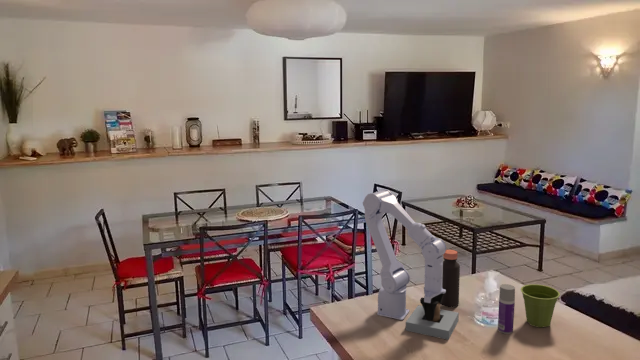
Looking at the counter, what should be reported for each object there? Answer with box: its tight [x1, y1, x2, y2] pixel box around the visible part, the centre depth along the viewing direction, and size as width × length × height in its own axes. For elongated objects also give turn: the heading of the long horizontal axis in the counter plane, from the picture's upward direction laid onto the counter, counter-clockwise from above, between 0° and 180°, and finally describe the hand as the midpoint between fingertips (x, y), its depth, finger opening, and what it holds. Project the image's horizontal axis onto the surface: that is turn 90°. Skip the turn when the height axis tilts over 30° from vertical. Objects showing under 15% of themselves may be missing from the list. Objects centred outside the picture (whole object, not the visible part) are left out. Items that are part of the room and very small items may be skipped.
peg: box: [426, 302, 441, 323], centre depth 159 cm, size 4×4×7 cm
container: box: [497, 283, 516, 335], centre depth 155 cm, size 5×5×15 cm
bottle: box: [440, 249, 461, 308], centre depth 174 cm, size 7×7×20 cm
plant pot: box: [520, 283, 561, 328], centre depth 159 cm, size 12×12×11 cm
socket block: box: [405, 304, 460, 341], centre depth 160 cm, size 14×14×3 cm
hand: (432, 314), depth 159 cm, fingers open, 7 cm apart
